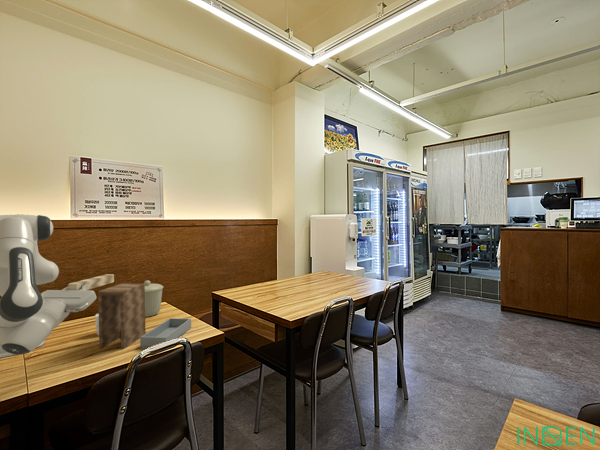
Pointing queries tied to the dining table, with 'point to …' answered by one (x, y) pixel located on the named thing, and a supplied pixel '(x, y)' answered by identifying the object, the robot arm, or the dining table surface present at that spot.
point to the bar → (92, 282)
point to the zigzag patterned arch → (121, 314)
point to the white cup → (97, 323)
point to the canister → (152, 298)
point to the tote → (165, 332)
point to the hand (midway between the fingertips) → (80, 284)
